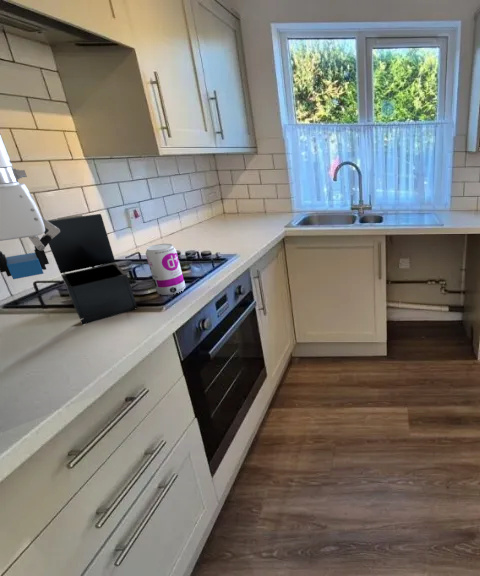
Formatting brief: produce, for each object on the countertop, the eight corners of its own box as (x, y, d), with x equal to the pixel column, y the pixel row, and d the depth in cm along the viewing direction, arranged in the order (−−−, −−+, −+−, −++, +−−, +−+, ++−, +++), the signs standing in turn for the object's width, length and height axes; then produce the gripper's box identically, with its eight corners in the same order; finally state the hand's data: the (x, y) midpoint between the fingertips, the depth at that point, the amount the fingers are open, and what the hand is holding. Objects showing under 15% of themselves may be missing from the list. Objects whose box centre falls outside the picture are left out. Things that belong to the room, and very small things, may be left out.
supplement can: (191, 288, 119) (180, 244, 113) (168, 298, 112) (155, 252, 106) (175, 284, 122) (163, 242, 116) (151, 294, 115) (137, 249, 109)
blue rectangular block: (43, 273, 73) (38, 259, 72) (13, 279, 70) (6, 264, 69) (40, 265, 77) (35, 252, 76) (12, 270, 74) (6, 257, 73)
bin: (138, 308, 106) (126, 274, 101) (82, 324, 97) (67, 288, 93) (126, 294, 115) (115, 262, 111) (74, 308, 107) (60, 274, 102)
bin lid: (101, 214, 102) (96, 208, 105) (40, 222, 94) (37, 215, 97) (115, 262, 110) (110, 255, 114) (60, 273, 102) (57, 265, 105)
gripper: (47, 173, 74) (76, 258, 81) (-80, 180, 63) (-33, 277, 70) (50, 176, 69) (82, 265, 76) (-86, 184, 58) (-35, 287, 66)
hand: (26, 270), depth 73 cm, fingers closed on blue rectangular block, 4 cm apart
